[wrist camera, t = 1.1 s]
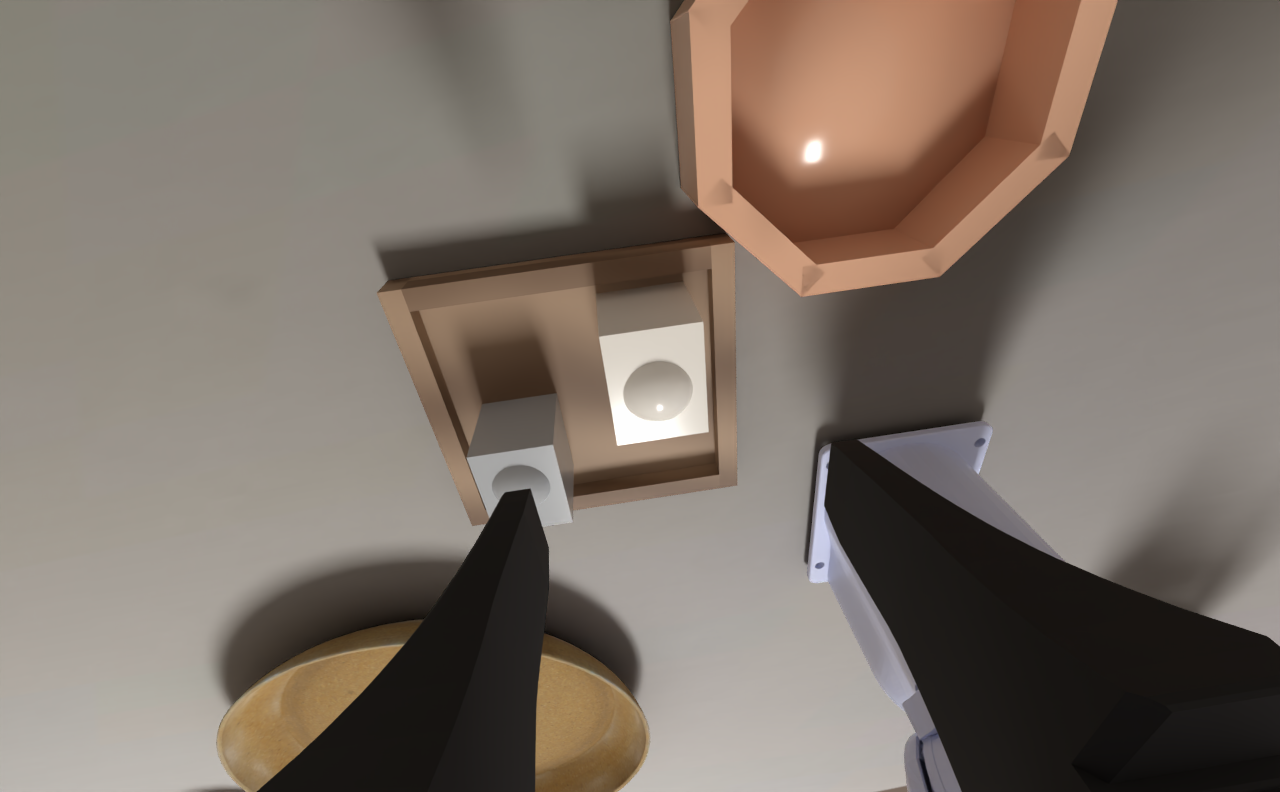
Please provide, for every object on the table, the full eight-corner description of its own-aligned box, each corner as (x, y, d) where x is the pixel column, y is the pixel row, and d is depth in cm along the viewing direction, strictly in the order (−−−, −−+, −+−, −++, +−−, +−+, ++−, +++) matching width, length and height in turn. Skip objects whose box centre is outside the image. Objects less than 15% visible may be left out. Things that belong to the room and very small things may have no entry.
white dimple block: (690, 380, 21) (713, 444, 17) (612, 391, 21) (618, 458, 17) (683, 281, 19) (708, 331, 15) (595, 293, 18) (599, 347, 15)
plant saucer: (485, 815, 42) (478, 868, 39) (170, 726, 31) (129, 790, 28) (716, 688, 35) (728, 741, 32) (414, 514, 24) (392, 572, 21)
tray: (730, 468, 24) (737, 485, 23) (476, 506, 24) (472, 525, 23) (726, 233, 18) (734, 242, 17) (388, 280, 18) (376, 293, 17)
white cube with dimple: (573, 465, 23) (572, 533, 19) (506, 475, 23) (493, 545, 19) (556, 393, 21) (552, 455, 17) (482, 403, 20) (462, 469, 17)
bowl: (975, 238, 19) (1036, 263, 17) (686, 280, 19) (702, 311, 16) (1079, -187, 13) (1196, -249, 11) (659, -135, 13) (678, -186, 11)
